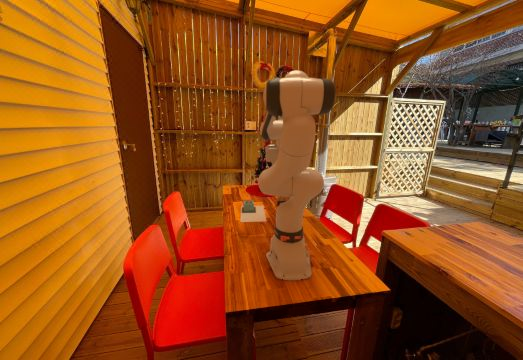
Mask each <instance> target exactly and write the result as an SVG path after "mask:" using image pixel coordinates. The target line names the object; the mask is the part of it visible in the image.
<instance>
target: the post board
mask: <svg viewBox="0 0 523 360" xmlns="http://www.w3.org/2000/svg"><path fill="white" fill-rule="evenodd" d="M246 201H247V204H251V201H252V200H246ZM246 222H247V223H252V222H253V223H254V222H255V223H259V222H262V223H263V222H267V217H266V212H265V207H264V205H254V212H244V205H241V208H240V223H246Z"/></svg>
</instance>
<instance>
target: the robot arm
mask: <svg viewBox="0 0 523 360" xmlns="http://www.w3.org/2000/svg"><path fill="white" fill-rule="evenodd" d="M336 87H337V86H336V84H335V83H334V82H333V80H331V79H328V78H325V77H321V78H316V77H309V76H308V74H307V73H306V72H305V71H302V70H298V69H297V70H296V69H295V70H292V71H289V72H287V73H286V74H285V76H284V77H281V78H280V77H274V78H270V79H268V80H267V82H266V84H265V87H264V89H263V93H262V95H263V96H262V99H263V103H264V106H265V109H266V111H265V114H264V117H263V120H262V121H261V124H260V126H259V134H260V137H261V138H262V139H263V140H264V141H273V140H274V141H275V144H268V145H266V146H265V147H264V151H265V161H266V162H267V163H271V164H272V165H271V166H270V167H267V168H266V169H264V170H262V171H261V172H260V175H259V177H258V181H257V184H258V187H259V190H260V192H261V193H262V194H264V195H267V196H268V195H269V196H274V197H277V196H279V197H280V196H284V197H285V196H289V198H290V196H291V198H290V199H289V200H288V201H286V202H284V203H282V204H281V205H279V206H277V208H276V211H275V225H274V228H273V230H274V235H272V237H271V238H270V246H269V247H270V248H269V251H268V252H267V253H266V254H265V256H266V259H267V261H268V263H269V265H270V267H271V269H272V272H273V274H274V277H275V278H277V279H279V280H282V279H283V280H284V281H302V280H301V279H303V280H306V279H309V278H311V277H312V275H313V273H312V272H313V271H312V266H311V259H310V257H311V254H310V253H311V252H310V251H309V250H307V249H306V248H307V247H308V243H305V241H306V240H305V236H304V227H303V222H304V221H303V219H304V213H305V210H306V207H307V205H308V204H309V202H311V201H312V199H313V198H315V197H316V196H318V195H319V194H321V192H322V191H323V189H324V185H325V181H324V180H325V179H324V176H323V174H322V173H321V172H320V171H319V170H317V169H316V170H315V169H311V168H308V167H309V166H310V164H311V161H312V156H313V151H314V147H315V142H316V130H317V129H316V128H317V127H316V126H317V125H316V121H315V119H314V117H313V115H318V116H321V115H326V114H328V113H330V112H331V111H332V109H333V108H334V105H335V103H336V99H337V89H336Z"/></svg>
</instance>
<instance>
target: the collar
mask: <svg viewBox="0 0 523 360" xmlns="http://www.w3.org/2000/svg"><path fill="white" fill-rule="evenodd" d="M247 201H248V200H243V206H244V212H254V206H255V202H254V200H250V201H251V204H247Z"/></svg>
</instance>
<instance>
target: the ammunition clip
mask: <svg viewBox="0 0 523 360" xmlns="http://www.w3.org/2000/svg"><path fill="white" fill-rule="evenodd" d="M290 198H291V196H276V207H278V206H279V205H281V204H282V203H284V202H286V201H288V200H289V199H290Z"/></svg>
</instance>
